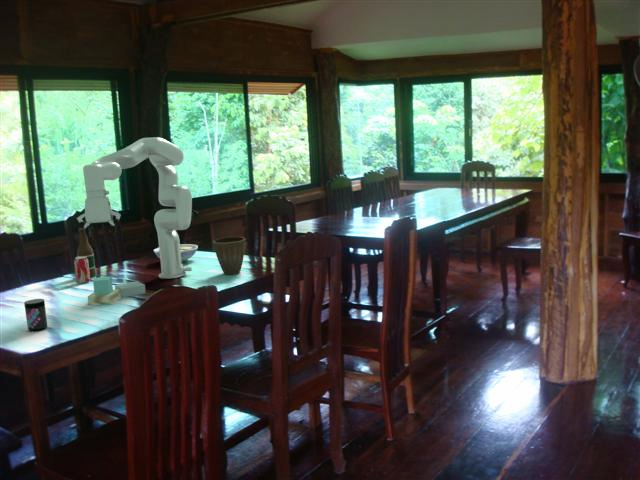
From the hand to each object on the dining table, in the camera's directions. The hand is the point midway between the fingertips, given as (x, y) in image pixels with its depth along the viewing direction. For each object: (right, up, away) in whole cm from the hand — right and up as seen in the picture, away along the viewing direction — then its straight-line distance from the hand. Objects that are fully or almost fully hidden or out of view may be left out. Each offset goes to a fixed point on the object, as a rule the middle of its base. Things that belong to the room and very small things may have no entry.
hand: (101, 235), depth 281 cm
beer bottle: (-22, -20, +49) cm, 58 cm away
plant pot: (+49, -17, +39) cm, 65 cm away
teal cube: (+1, -23, -1) cm, 23 cm away
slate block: (+9, -25, +11) cm, 29 cm away
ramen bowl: (+16, -13, +74) cm, 77 cm away
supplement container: (-11, -34, -36) cm, 51 cm away
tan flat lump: (+2, -27, 0) cm, 27 cm away
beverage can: (-20, -22, +38) cm, 48 cm away
